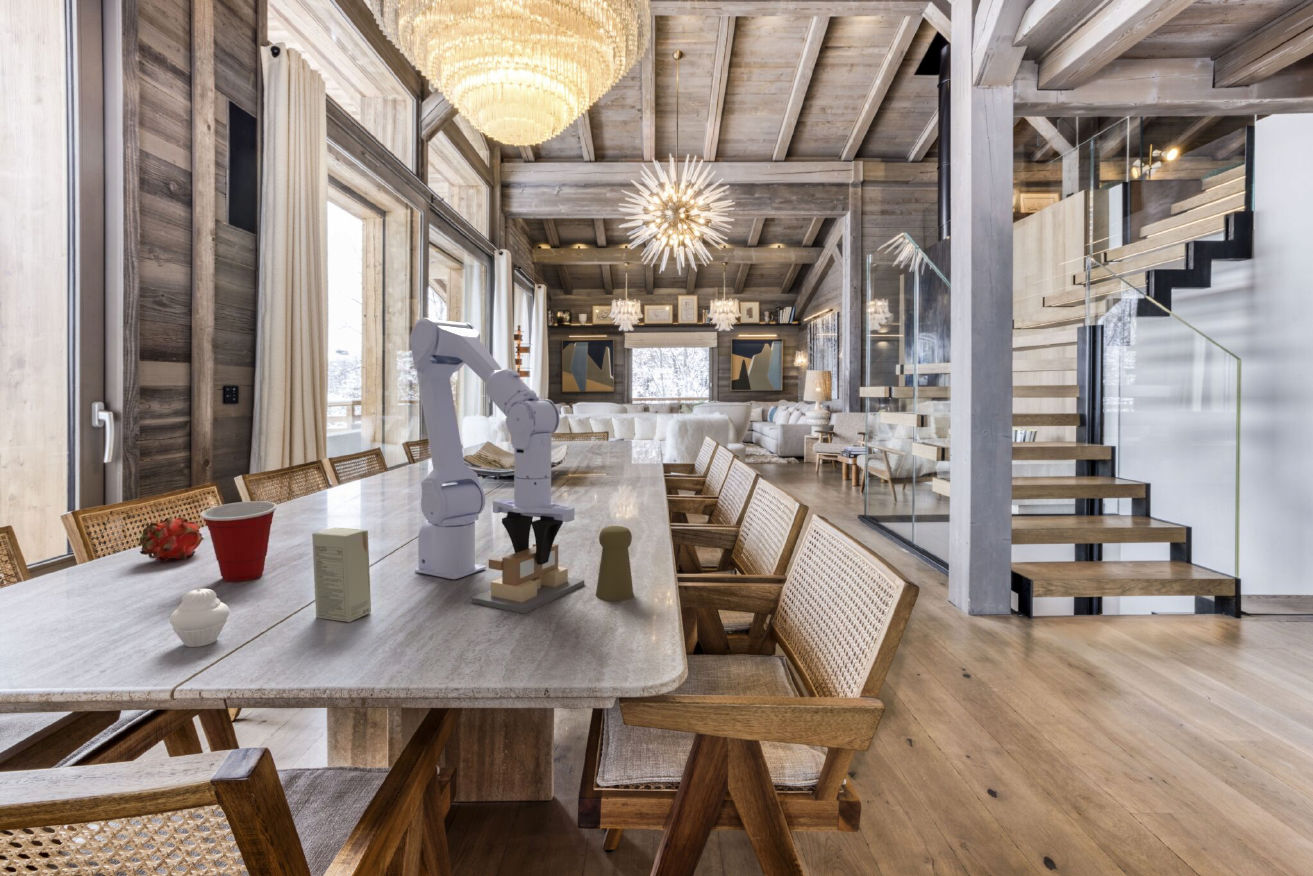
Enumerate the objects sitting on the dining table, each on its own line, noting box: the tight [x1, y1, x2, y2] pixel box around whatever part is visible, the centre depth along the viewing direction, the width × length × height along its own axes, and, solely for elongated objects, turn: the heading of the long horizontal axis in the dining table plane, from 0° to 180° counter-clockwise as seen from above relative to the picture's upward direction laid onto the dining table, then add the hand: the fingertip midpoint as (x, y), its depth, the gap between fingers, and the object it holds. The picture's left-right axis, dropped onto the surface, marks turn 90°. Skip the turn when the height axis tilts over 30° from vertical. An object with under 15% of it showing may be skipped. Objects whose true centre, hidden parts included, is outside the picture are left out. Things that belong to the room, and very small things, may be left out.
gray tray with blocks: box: [471, 566, 585, 615], centre depth 103 cm, size 10×16×3 cm, turn 154°
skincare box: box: [311, 527, 372, 623], centre depth 92 cm, size 6×4×12 cm
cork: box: [595, 525, 634, 602], centre depth 103 cm, size 6×6×11 cm
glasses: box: [488, 542, 559, 586], centre depth 103 cm, size 5×12×4 cm, turn 154°
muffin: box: [169, 587, 230, 648], centre depth 81 cm, size 6×6×7 cm
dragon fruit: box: [139, 516, 205, 563], centre depth 119 cm, size 8×8×12 cm
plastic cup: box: [199, 500, 278, 583], centre depth 108 cm, size 11×11×12 cm
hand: (532, 561), depth 103 cm, fingers open, 3 cm apart
